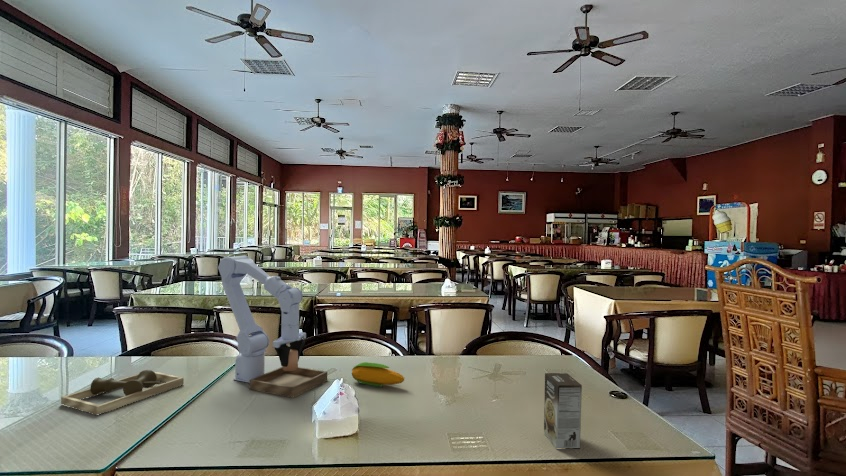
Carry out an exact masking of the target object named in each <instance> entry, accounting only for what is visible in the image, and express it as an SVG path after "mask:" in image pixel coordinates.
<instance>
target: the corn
mask: <svg viewBox="0 0 846 476" xmlns="http://www.w3.org/2000/svg"><path fill="white" fill-rule="evenodd" d="M389 368H390V366H388V365H386V364H382V363H378V362H367V361H366V362H359V363H358V364H356V365H355V366H353V368H352V369H351V376H352V378H353V379H354V380H355V381H357V382H358V383H361V384H363V385H369V386H373V387H378V388H379V387H380V388H384V387H385V385H386V386H391V385H397V384H402V383H404V381H405V377H404V375H402V374H400V373H399V372H397V371H393V370H391V369H389Z"/></svg>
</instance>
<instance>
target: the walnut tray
mask: <svg viewBox="0 0 846 476" xmlns="http://www.w3.org/2000/svg"><path fill="white" fill-rule="evenodd" d="M326 381H328V371H325V370H320V369H314V368H308V367H301V366H298V369H297V370H294V371H284V370H283V366H280V367H278V368H276V369H275V368H274V369H273V370H271V371H267V372H266V373H265V372H264V374H263V375H261V376H258V377H256V378H253V379H251V380H250V383H249V390H254V391H258V392H263V393H267V394H273V395H278V396H284V397H288V398H292V399H294V398H296V397H299V396H300V395H302V394H304V393H306V392H308V391H309V390H311V389H313V388H316V387H317V386H319V385H322V384H323V383H324V382H326Z"/></svg>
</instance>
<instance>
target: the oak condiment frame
mask: <svg viewBox="0 0 846 476" xmlns="http://www.w3.org/2000/svg"><path fill="white" fill-rule="evenodd" d="M152 371H153V370H152ZM153 372H155V374H156V376H157V380H158V381H157V382H160V381H162V382H161V384H156V385H154V386H153V387H150V388H144V389H142V391H140V392H136V393H133V394H130V395H127V396H126V395H125V396H122V397H119V398H116V399H113V400H110V401H107V402H104V403H101V404H97V403H94V402H90V401H86V400H80V399H83V398H86V397H90V396H93V397H95V396H94V394H92V392H91V389H90V388H91V387H89V388H87V389H83V390H79V391H76V392H73V393H70V394H67V395H63V396H61V397H60V402H61V403H60V405H61V404H64V405H67V406H70V407H74V408H77V409H80V410H83V411H87V412H90V413H93V414H92V415H94V414H100V413H104V412H107V411H109V412H111V411H110V410H112V411H114V410H113V409H115V410H117V409H116V408H118V409H120V408H119V407H121V408H123V407H125V406H124V405H126V406H128V405H127V404H129V405H131V404H130V403H132V404H134V403H133V402H135V403H137V402H139V401H138V400H140V401H142V400H141V399H143V400H145V399H144V398H146V399H148V398H147V397H149V396H151V397H153V396H152V395H154V396H156V395H155V394H157V395H159V394H158V393H160V394H162V393H165V392H167V390H168V391H170V389H171V390H173V389H172V388H174V389H176V388H179V387H182V386H184V385H183V384H184V380H185V379H184V376H183V377H182V376H177V375H172V374H169V373H168V374H167V373H164V372H158V371H153ZM138 375H139V373H136V374H133V375H130V376H127V377H123V378H120V379H117V380H116V379H115V380H116V381H124V382H128V381H130V380H137V378H138ZM165 382H166V383H165ZM181 385H182V386H181ZM178 386H179V387H178ZM175 387H176V388H175ZM164 391H165V392H164ZM104 392H106V391H104ZM161 392H162V393H161ZM100 393H102V394H104V393H103V392H99V393H98V394H99V395H101V394H100ZM106 393H107V392H106ZM96 396H98V395H97V394H96ZM90 398H91V397H90ZM149 398H150V397H149ZM136 401H137V402H136ZM122 406H123V407H122ZM83 411H82V412H83ZM90 413H89V414H90ZM107 413H108V412H107ZM104 414H105V413H104Z"/></svg>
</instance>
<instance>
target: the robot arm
mask: <svg viewBox="0 0 846 476" xmlns="http://www.w3.org/2000/svg"><path fill="white" fill-rule="evenodd" d="M217 269H218V272H219V274H220V278H221V285H222V288H223V291H224V293H225V295H226V298H227V300H228V304H229V306H230V308H231V310H232V313H233V316H234V318H235V321H236V323H237V326H238V328H239V331H238V333H237V335H236V342H237V349H238V352H239V354H237V356H236V358H235V362H234V366H235V368H234V369H235V370H234V371H235V372H234V373H235V375H234V377H233V380H234V381H239V382H244V383H248V384H250V380H251V379H253V378H256V377H258V376H261V375H263V374H265V363H266V362H265V359H266V358H265V357H266V356H265V355H266V354H265V353H266V351H267V349H268V347H269V345H270V338H269V335H268V334H267V333H266V332H265V331H264V329H263V327H262V326H260V325H259V324H256V320H255V319H254V316H253V314H252V312H251V309H250V307H249V304H248V302H247V299H246V296H245V294H244V291H243V289H242V286H241V282H242V281H243V280H244V278H245V277H246V276H247V275H248V276H250V277H251V278H253V279H255V280H256V281H258V282H259V283H260V284H262V285H263V289H264V290H265V291H266V292H268V293H269V294H271V295H272V296H273V297H274V298H276V299H277V302H278V304H279V306H280V311H281V321H280V323H281V329H280V330H281V332H280V333H281V336H280V337H279V338H277V339H275V340H273V341H272V348H274V350H275V352H276V353H277V355H278V358H279V361H280V367H282V366H284V367H287V366H288V358H289V352H290V349H296V350H298V362H299V360H300V356H301V353H302V350H303V347H304V346H305V344H306V340H305V339H307V333H306V332H303V331H301V332H300V327H299V326H300V303H301V302H302V301H303V299H304V298H303V292H302V291H301V290H300V288H299V287H295V286H294V287H292V286H291V284H287V283H286V282H285V281H284V280H282V279H281V277H280V276H279V275H278V276H276V275H272V276H270V275H269V274H268V273H267V272H265V270H263V269H262V268H261V267H260V266H259V265H257V264H256V263H255V261H254V260H253V259H252V258H250V257H249V256H248V255H238V256H237V255H235V256H224V257H222V258H221V259H220V261H219V264H218V267H217ZM288 344H289V346H288Z"/></svg>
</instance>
